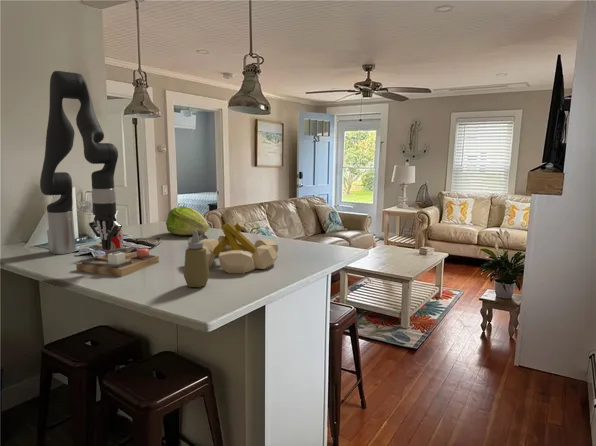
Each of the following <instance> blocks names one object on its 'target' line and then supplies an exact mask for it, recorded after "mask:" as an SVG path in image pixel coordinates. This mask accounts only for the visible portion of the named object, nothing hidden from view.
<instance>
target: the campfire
mask: <svg viewBox="0 0 596 446" xmlns="http://www.w3.org/2000/svg"><path fill="white" fill-rule="evenodd" d="M220 228H221V230H222V232H223V235H219V237H218V238H217V239H213V238H208V239H204V240H201V241H202V242H203V247H202V248H205V249H206V252H207V260H208V268H209V269H210V268H211V266H212V264H213V262H214V260H215V258H217V257H218V260H219V267H220V268H221V270H223V271H224V272H226V273H227V272H228V273H243V274H246V273H245V272H247V273H250V272H251V271H254V270H255V269H261V270H266V268H267V269H269V268H270V267H272V266H273V265H274V263H275V262H276V260H277V259H278V257H279V255H278V252H279V245H278V243H276V241H274V240H273V239H270V238H262V239H258V240H256V241H255V243H254V244H253V242H251V241H250V237H249V236H245V235H244V234H243V233H242V232H241V230H243V228H244V224H243V223H242V222H240V221H237V222H236V224H234V225H233V223H232V222H230V221H227V222H226V223H223V224H222V225H221V226H220ZM271 265H272V266H271ZM268 267H269V268H268ZM228 273H227V274H228Z"/></svg>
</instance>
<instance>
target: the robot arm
mask: <svg viewBox="0 0 596 446" xmlns="http://www.w3.org/2000/svg"><path fill="white" fill-rule="evenodd" d="M64 99H69V100H70V99H71V100H78V101H79V103H80V106H79V110H78V112H77V114H76V118H75V124H76V126H77V130H78V132H79V133H80V136H81V139H82V144H83V156H84V158H85V160H86V161H87V162H88V163H89V164H93V165H99V164H100V165H102V164H104V165H103V167H102V168H101V169H99V170H95V171H92V173H91V175H90V176H91V202H92V203H91V204H92V205H91V206H92V215H93V216H94V218H93V221H91V222H89V223H88V227H90V228H91V230H92V232H93V234H94V235H95V236H96V238H100V240H101V248H102V250H104V251H105V250H108V249H110V248H111V238H113V237H116V235H117V234H118V232H119V231H120V229H122V228H123V225H122V224H119V223H118V222H117V218H116V214H117V202H116V191H115V179H114V178H115V171H116V167H117V162H118V158H119V151H118V147H116V145H114V144H113V143H111V142H102V141H103V140H104V139H105V135H104V131H103V128H102V127H101V125H100V122H99V121H98V119H97V118H98V117H97V116H96V112H95V110H94V105H93V101H92V96H91V94H90V90H89V87H88V84H87V80H86V79H85V77H84V76H83V75H82V74H80V73H77V72H70V71H61V70H54V71H53V72H52V73H51V76H50V80H49V108H48V109H49V112H48V120H47V128H46V133H45V134H46V135H45V146H44V147H45V150H44V159H43V164H42V169H41V173H40V179H39V187H40V192H41V193H42V194H43V195H45V196H60V197H59V198H58V199H57V200H55V201H53V202H52V203H49V204H47V206H46V211H47V222H48V223H47V225H48V226H47V227H48V229H47V230H46V233H47V244H48V253H51V254H52V255H64V254H65V255H66V254H70V253H74V252H76V250H77V249H76V237H75V236H76V235H75V225H74V223H75V222H74V212H73V211H74V210H73V209H74V208H73V206H74V205H73V204H74V203H73V202H74V200H73V180H72V177H71V175H70V173H68V172H66V171H65V172H64V171H59V172H58V171H57V172H55V171H56V169H57V168H58V166H59V165H60V163H61V162H62V161H63V160H64V159H65V158H66V157H67V156H68V154H69V153H70V152H71V151H72V150H73V146H74V142H75V141H74V140H75V130H74V127H73V125H72V123H71V121H70V119H69V118H68V116H67V114H66V113H65V111H64V107H63V100H64Z"/></svg>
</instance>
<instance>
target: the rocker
mask: <svg viewBox="0 0 596 446" xmlns="http://www.w3.org/2000/svg"><path fill="white" fill-rule="evenodd" d="M117 251H120V252H122V253H123V252H126V253H129V252H131V251H134V246H126V247H124V248H118V249H112V250H109V251H106V254H105V255H108V254H110V253H113V252H117Z"/></svg>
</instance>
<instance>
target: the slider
mask: <svg viewBox="0 0 596 446" xmlns="http://www.w3.org/2000/svg"><path fill="white" fill-rule="evenodd" d="M124 262H125V253H122V252H120V251H117V252H113V253H110V254H108V264H112V265H118V264H121V263H124Z"/></svg>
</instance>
